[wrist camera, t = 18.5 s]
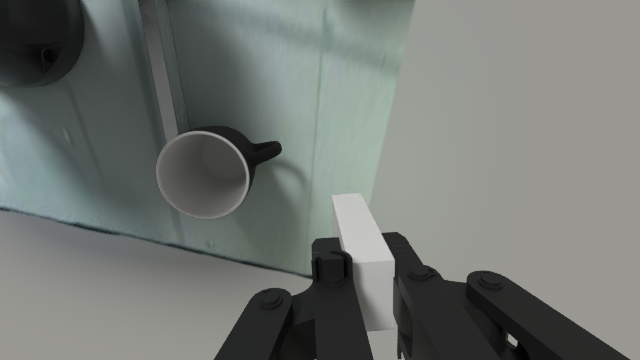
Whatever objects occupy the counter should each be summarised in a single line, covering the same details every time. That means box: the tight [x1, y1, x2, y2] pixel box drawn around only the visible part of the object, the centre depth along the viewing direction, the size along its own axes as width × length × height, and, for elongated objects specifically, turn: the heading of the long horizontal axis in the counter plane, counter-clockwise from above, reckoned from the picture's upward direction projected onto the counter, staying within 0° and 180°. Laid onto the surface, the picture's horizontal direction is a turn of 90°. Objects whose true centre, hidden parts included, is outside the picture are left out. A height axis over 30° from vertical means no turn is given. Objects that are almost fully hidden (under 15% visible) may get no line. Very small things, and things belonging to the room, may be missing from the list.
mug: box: [156, 126, 282, 219], centre depth 35 cm, size 12×9×10 cm
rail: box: [138, 0, 189, 143], centre depth 35 cm, size 2×24×4 cm, turn 3°
